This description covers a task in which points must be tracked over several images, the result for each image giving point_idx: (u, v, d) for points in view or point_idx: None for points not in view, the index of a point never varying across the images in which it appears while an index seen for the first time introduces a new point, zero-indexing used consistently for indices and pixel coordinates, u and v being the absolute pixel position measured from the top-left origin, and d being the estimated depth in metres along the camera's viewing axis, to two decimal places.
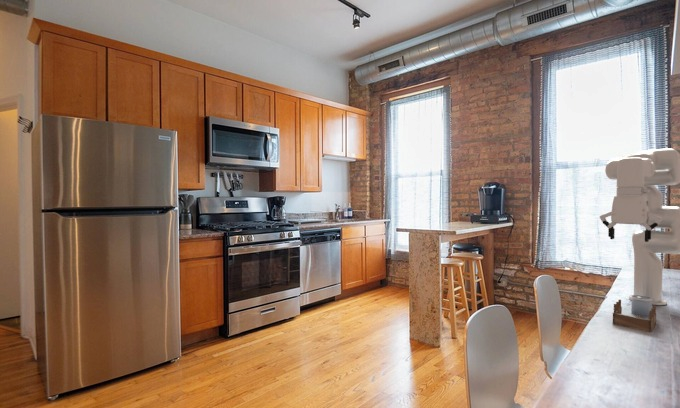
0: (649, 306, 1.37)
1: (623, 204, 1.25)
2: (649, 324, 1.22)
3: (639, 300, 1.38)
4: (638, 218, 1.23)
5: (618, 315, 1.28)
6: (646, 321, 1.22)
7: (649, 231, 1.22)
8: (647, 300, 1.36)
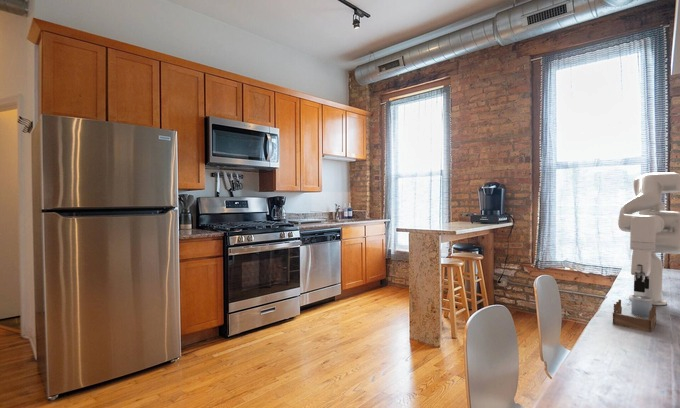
0: (649, 306, 1.37)
1: (650, 258, 1.36)
2: (649, 324, 1.22)
3: (639, 300, 1.38)
4: (650, 269, 1.39)
5: (618, 315, 1.28)
6: (646, 321, 1.22)
7: None
8: (647, 300, 1.36)
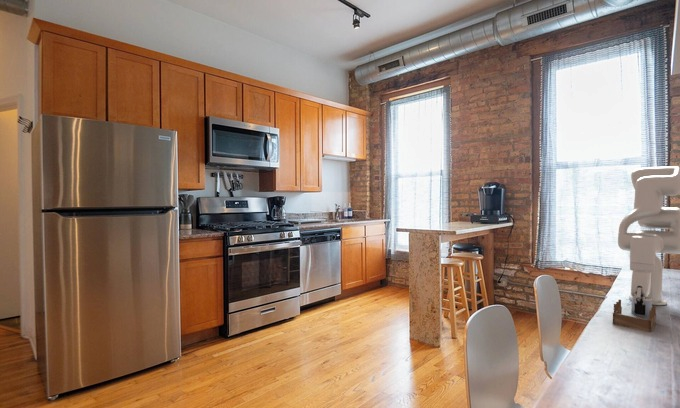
0: (649, 306, 1.37)
1: (649, 279, 1.37)
2: (649, 324, 1.22)
3: None
4: None
5: (618, 315, 1.28)
6: (646, 321, 1.22)
7: None
8: (647, 300, 1.36)
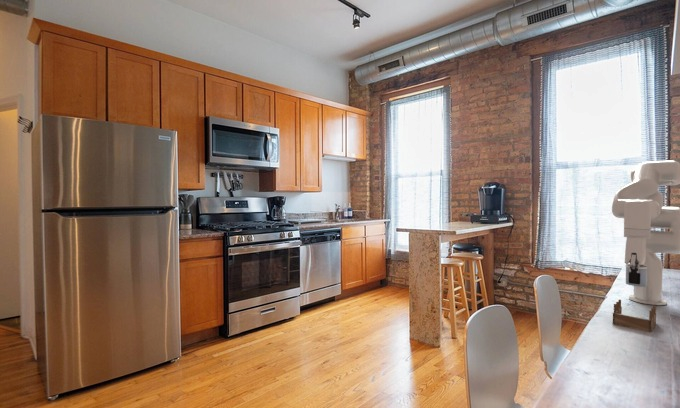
0: (644, 274, 1.28)
1: (644, 246, 1.28)
2: (649, 324, 1.22)
3: None
4: (645, 257, 1.31)
5: (618, 315, 1.28)
6: (646, 321, 1.22)
7: None
8: (642, 268, 1.27)
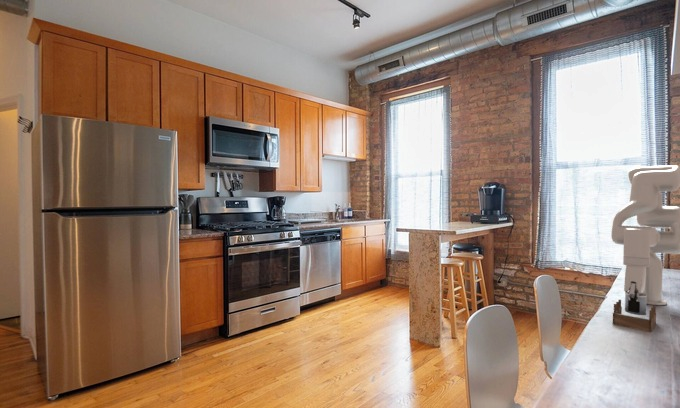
0: (644, 303, 1.28)
1: (644, 274, 1.28)
2: (649, 324, 1.22)
3: None
4: (644, 285, 1.31)
5: (618, 315, 1.28)
6: (646, 321, 1.22)
7: None
8: (641, 297, 1.28)
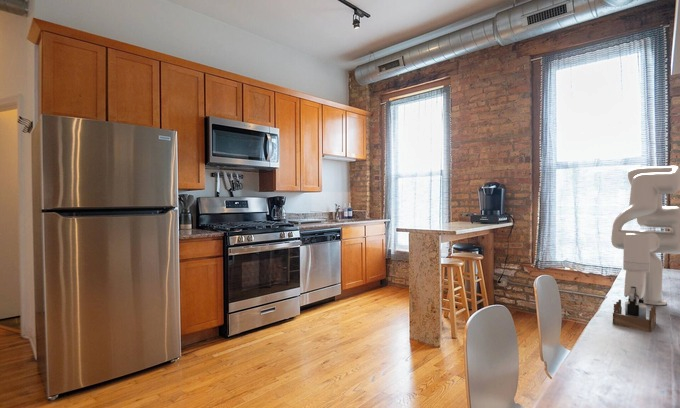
0: (643, 313, 1.28)
1: (644, 279, 1.28)
2: (649, 324, 1.22)
3: None
4: (644, 290, 1.31)
5: (618, 315, 1.28)
6: (646, 321, 1.22)
7: (641, 300, 1.34)
8: (641, 307, 1.28)
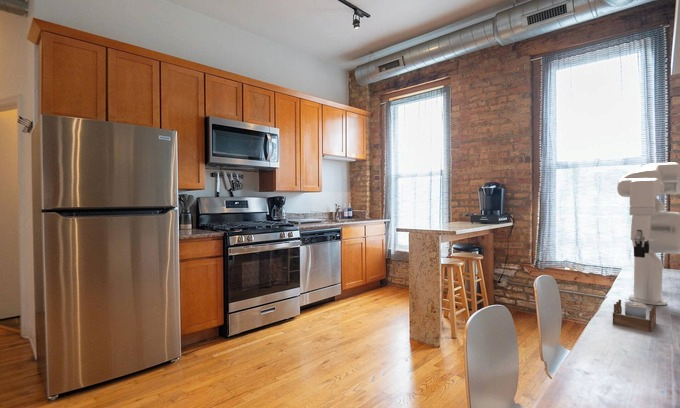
0: (643, 313, 1.28)
1: (649, 223, 1.34)
2: (649, 324, 1.22)
3: (633, 307, 1.29)
4: (650, 234, 1.38)
5: (618, 315, 1.28)
6: (646, 321, 1.22)
7: None
8: (641, 307, 1.28)
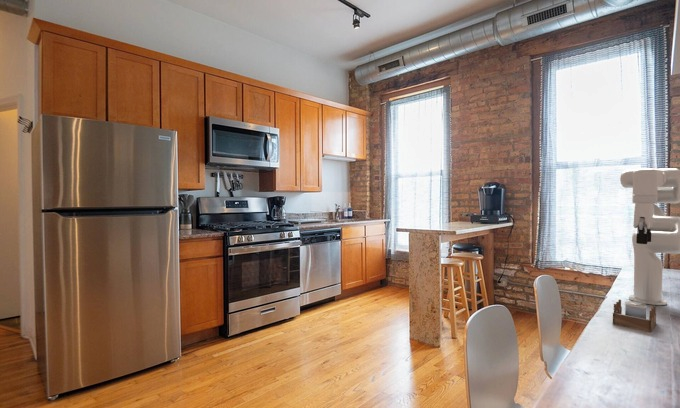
0: (644, 313, 1.28)
1: (652, 211, 1.38)
2: (649, 324, 1.22)
3: (633, 307, 1.29)
4: (652, 222, 1.41)
5: (618, 315, 1.28)
6: (646, 321, 1.22)
7: None
8: (642, 307, 1.28)
